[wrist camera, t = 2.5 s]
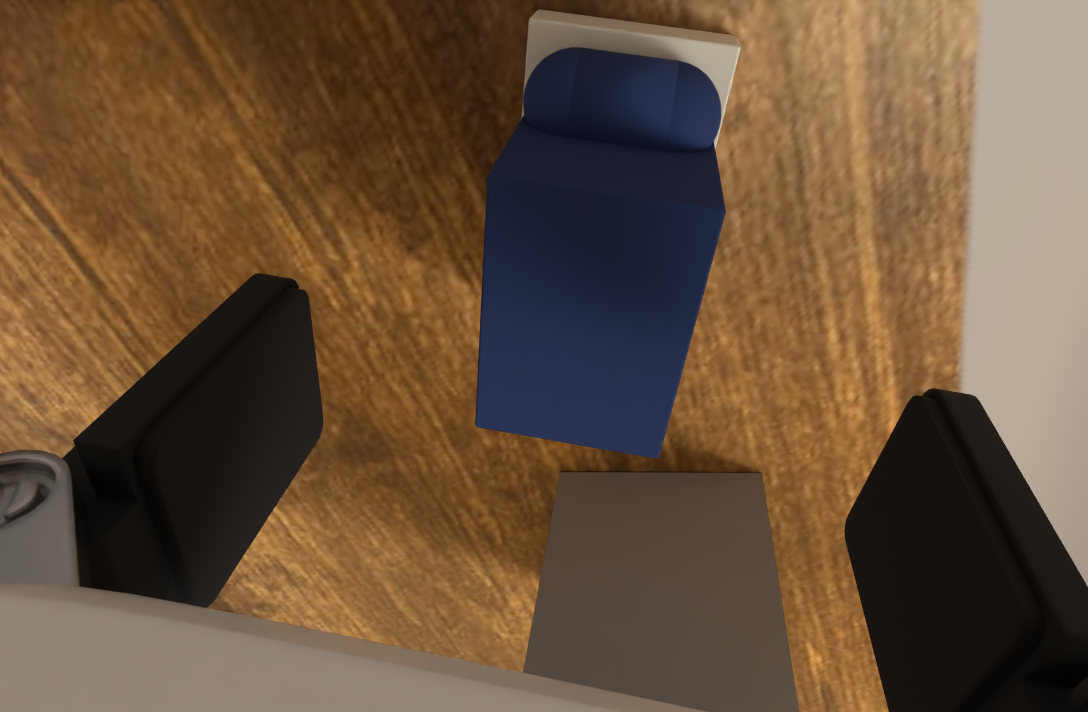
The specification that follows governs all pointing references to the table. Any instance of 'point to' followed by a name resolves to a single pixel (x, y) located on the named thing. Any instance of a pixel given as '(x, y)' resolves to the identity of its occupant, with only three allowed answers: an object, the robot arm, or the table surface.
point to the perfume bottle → (664, 591)
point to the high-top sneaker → (601, 230)
